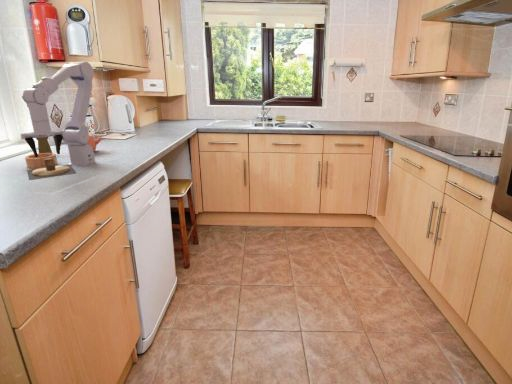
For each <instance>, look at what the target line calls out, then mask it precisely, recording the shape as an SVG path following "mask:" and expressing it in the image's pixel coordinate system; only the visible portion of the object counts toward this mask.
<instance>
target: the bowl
mask: <svg viewBox="0 0 512 384" xmlns="http://www.w3.org/2000/svg"><path fill="white" fill-rule="evenodd" d="M37 154H38V157H35V155H34V153H33V154H29V155H27V156H25V157H24V160H25V164H26V167H27V168H29V169H39V168H43V167H46V166H45V161H44V159H48V158H53V159H54V164H55V166H57V164H58V159H57V155H56V154H57V153H54V152H52V153H39V152H38V153H37Z"/></svg>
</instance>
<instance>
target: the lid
mask: <svg viewBox="0 0 512 384" xmlns="http://www.w3.org/2000/svg"><path fill="white" fill-rule="evenodd" d="M44 161H45V166H46V167H43V168H35V169H36V170H34V171H32V174H33V175H35V176H52V175H58V174H62V173H65V172H68V171H69V170H70V169H69V167H68V166H63V165H55V164H54V159H53V158H48V159H44Z"/></svg>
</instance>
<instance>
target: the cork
mask: <svg viewBox="0 0 512 384" xmlns="http://www.w3.org/2000/svg"><path fill="white" fill-rule="evenodd" d="M38 136H44V135H38ZM48 139H49V137H39V138H35V140H37V147H38V149H37V150H38V151H37V152H38V154H39V153H53V151H52V148H51V146H50V143H49V140H48Z"/></svg>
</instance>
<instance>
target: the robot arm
mask: <svg viewBox="0 0 512 384" xmlns="http://www.w3.org/2000/svg"><path fill="white" fill-rule="evenodd" d="M94 74H95V70H94V69H93V67H92V65H91V64H90V63H89V62H88V61H75V62H74V61H67V62H65V64H63V65H62V67H61V68H60V69H59V70H57V72H56V73H54V74H53V75H52V76H51V77H50V76H49V77H48V76H43V77H41V78H40V81H39V82H37V83H33V85H32V87H31V88H29V87H28V88H26V89H24V90H23V93H22V96H21V98H22V100H23V101H24V102H25V104H26V106H27V108H28V110H29V115H30V120H31V124H32V128H33V129H32V130H33V131H32V132H25V133H20V139H21V140H24V141H25V142H26V143H27V145H28V146H29V147H30V148H31V151H32V153H33V154H34V155H35V157H38V154H39V153H38V151H37V148H36V142H35V141H36V140H34V139H36V138H39V137H48V138H49V137H53V142H54V144H55V151H56V154H57V155H60V154H61V146H62V145H61V144H62V141H64V142H65V144H66V145H67V148H68V154H69V159H70V162H68V163H66V165H71V166H76V167H77V166H80V167H86V166H88V165H89V166H90V165H91V164H94V163H97V160H96V158H95V153H94V152H95V151H93V148H92V146H90V145H87V142H88V140H89V131H90V130H89V129H90V128H89V127H88V125H86V120H87V115H88V110H89V105H90V100H91V98H92V97H91V96H92V92H93V79H94ZM67 79H70V80H71V81H72V82H73V83H74V84H75V85H76V86H77V89H76V94H75V99H74V103H73V109H72V112H71V113H72V114H71V118H70V121H68V122H67V123H66V124H65V126H64V128H63V129H61V130H60V129H59V130H58V129H57V130H52V129H51V123H50V119H49V115H48V109H47V105H46V103H48V101H49V98H50V97H51V95H53V94H54V93H56V92H57V91H58V90H59V85H60V84H62V83H63V82H65V81H66V80H67ZM38 135H44V136H38Z"/></svg>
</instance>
